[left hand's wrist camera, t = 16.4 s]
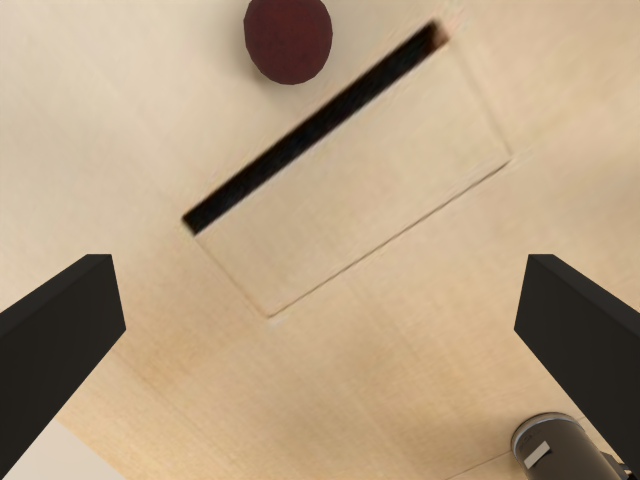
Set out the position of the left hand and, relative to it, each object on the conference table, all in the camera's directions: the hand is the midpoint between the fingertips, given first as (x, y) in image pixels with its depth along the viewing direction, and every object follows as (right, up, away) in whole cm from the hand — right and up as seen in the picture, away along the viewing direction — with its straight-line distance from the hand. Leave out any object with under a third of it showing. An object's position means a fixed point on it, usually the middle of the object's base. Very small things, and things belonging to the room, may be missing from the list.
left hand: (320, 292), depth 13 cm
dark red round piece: (-3, +20, +24) cm, 31 cm away
